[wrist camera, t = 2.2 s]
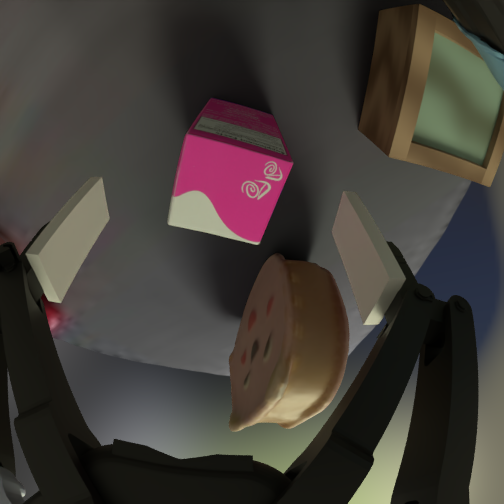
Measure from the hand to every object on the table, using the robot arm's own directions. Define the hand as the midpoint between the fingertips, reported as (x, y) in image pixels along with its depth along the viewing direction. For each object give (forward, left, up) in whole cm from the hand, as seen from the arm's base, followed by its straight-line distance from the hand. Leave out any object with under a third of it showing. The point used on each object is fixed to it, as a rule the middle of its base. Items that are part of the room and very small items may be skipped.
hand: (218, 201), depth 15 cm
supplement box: (0, 0, -12) cm, 12 cm away
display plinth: (-8, +17, -12) cm, 22 cm away
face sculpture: (+20, +6, -12) cm, 24 cm away
